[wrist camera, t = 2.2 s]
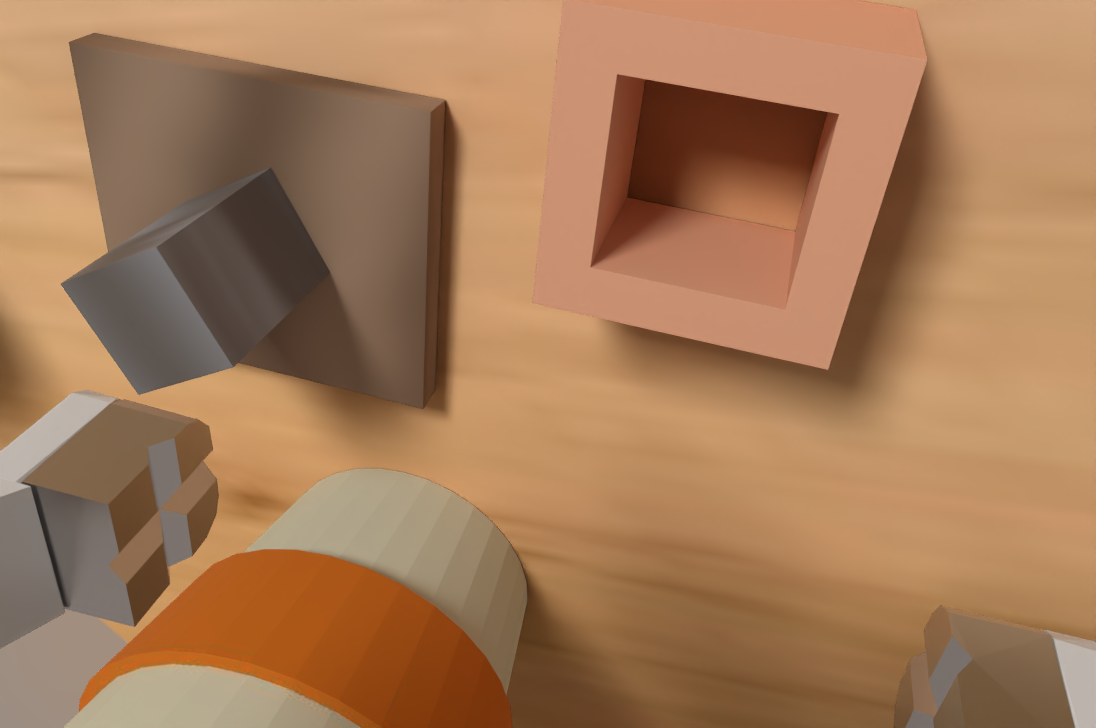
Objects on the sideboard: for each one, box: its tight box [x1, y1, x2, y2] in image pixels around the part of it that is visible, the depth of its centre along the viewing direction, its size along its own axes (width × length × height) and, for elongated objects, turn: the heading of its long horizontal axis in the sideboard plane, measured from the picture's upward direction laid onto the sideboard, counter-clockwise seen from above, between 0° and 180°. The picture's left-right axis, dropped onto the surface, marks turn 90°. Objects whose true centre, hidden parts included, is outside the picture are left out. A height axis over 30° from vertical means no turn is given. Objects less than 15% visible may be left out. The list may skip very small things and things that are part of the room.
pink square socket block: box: [533, 0, 928, 370], centre depth 20 cm, size 7×7×4 cm
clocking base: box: [61, 33, 445, 409], centre depth 24 cm, size 10×9×6 cm
